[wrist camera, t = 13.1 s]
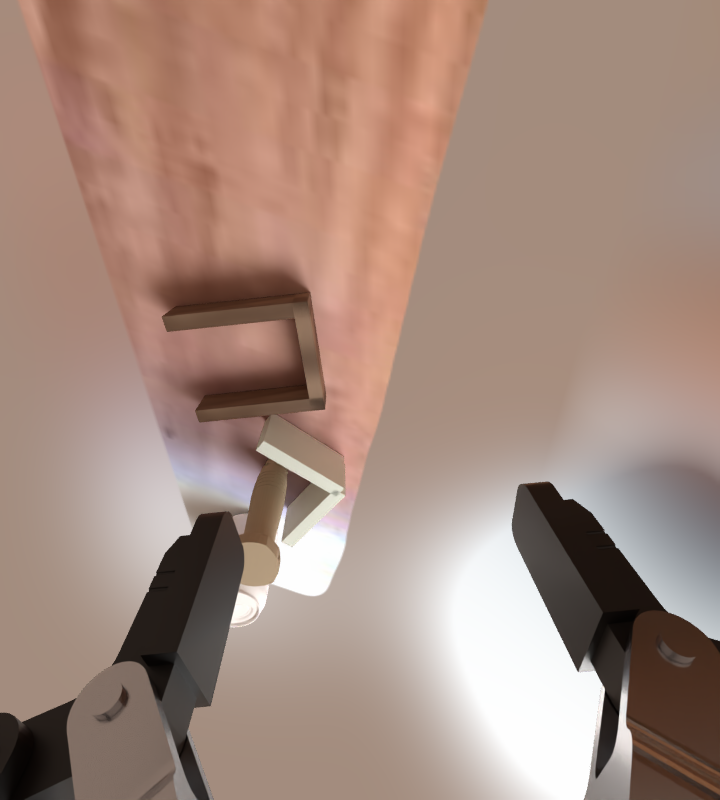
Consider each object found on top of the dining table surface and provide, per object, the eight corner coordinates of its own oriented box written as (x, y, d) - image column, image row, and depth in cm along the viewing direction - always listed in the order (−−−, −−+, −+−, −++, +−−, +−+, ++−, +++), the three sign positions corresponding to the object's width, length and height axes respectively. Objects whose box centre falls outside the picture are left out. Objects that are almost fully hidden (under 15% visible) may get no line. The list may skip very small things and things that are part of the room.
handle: (260, 485, 51) (233, 587, 38) (253, 447, 48) (221, 543, 35) (296, 484, 52) (281, 585, 39) (291, 445, 49) (274, 541, 35)
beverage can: (256, 556, 58) (238, 637, 48) (210, 532, 55) (180, 613, 45) (289, 528, 56) (278, 607, 45) (243, 501, 53) (219, 578, 42)
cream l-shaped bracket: (263, 413, 46) (253, 441, 41) (336, 405, 46) (336, 433, 41) (288, 513, 54) (283, 547, 49) (351, 506, 54) (352, 540, 49)
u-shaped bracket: (175, 306, 39) (161, 316, 36) (310, 292, 39) (307, 301, 36) (208, 406, 45) (199, 422, 42) (326, 394, 45) (325, 409, 42)
